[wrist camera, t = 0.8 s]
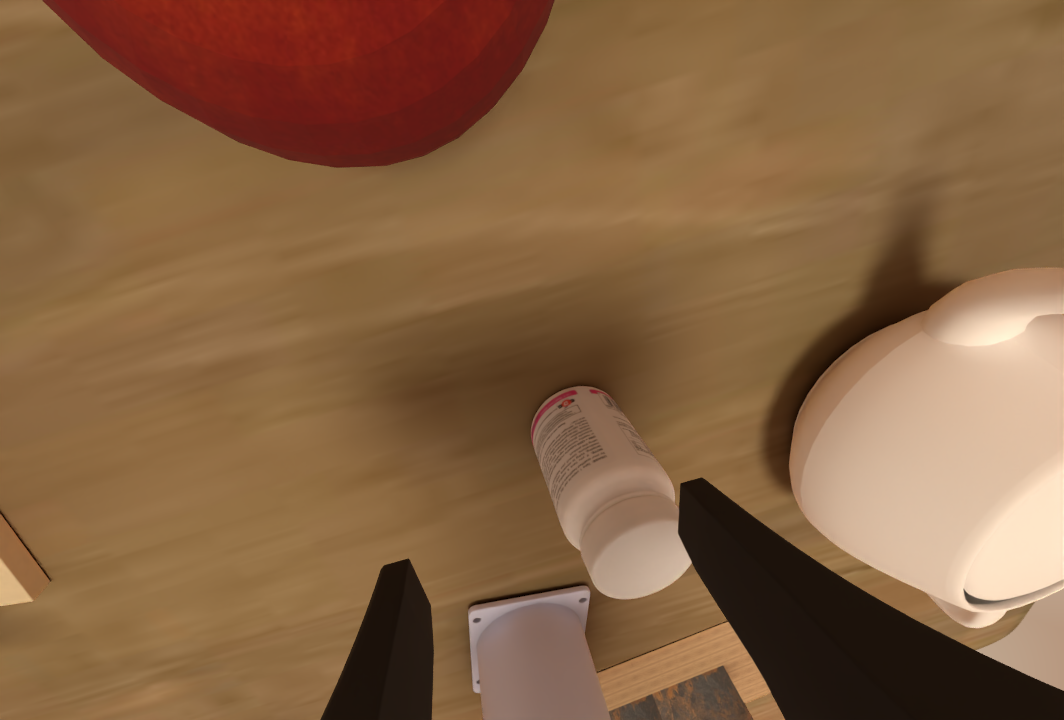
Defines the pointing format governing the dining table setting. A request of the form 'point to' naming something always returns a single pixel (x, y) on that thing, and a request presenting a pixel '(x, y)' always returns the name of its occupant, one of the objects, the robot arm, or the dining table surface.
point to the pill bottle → (609, 493)
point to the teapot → (948, 447)
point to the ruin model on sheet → (686, 680)
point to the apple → (320, 67)
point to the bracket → (18, 570)
